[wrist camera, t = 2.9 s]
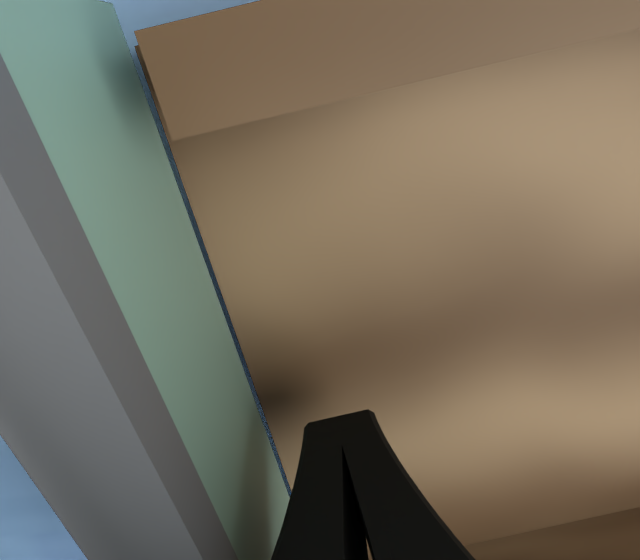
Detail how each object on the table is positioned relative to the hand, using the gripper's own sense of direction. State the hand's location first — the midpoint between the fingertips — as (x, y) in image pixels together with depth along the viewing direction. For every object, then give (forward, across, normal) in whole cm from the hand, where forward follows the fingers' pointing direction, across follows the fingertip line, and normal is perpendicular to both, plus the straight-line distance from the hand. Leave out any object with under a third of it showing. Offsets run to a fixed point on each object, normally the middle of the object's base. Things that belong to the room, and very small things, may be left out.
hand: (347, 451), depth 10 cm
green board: (+2, +2, 0) cm, 2 cm away
